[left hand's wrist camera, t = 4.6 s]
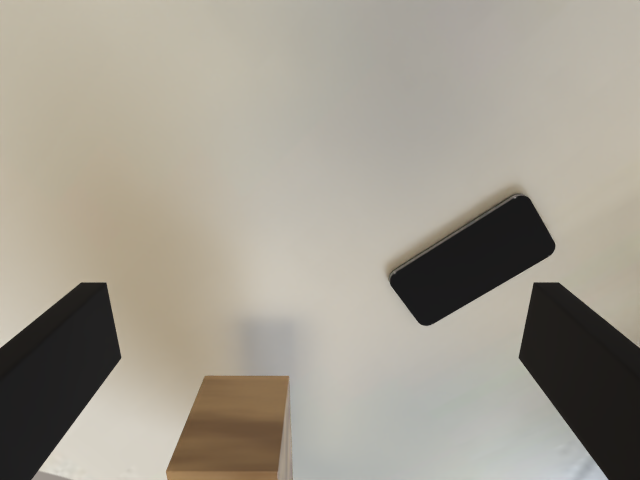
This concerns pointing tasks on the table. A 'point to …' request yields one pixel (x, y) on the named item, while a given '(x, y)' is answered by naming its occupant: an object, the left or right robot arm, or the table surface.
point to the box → (236, 431)
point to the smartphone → (473, 260)
